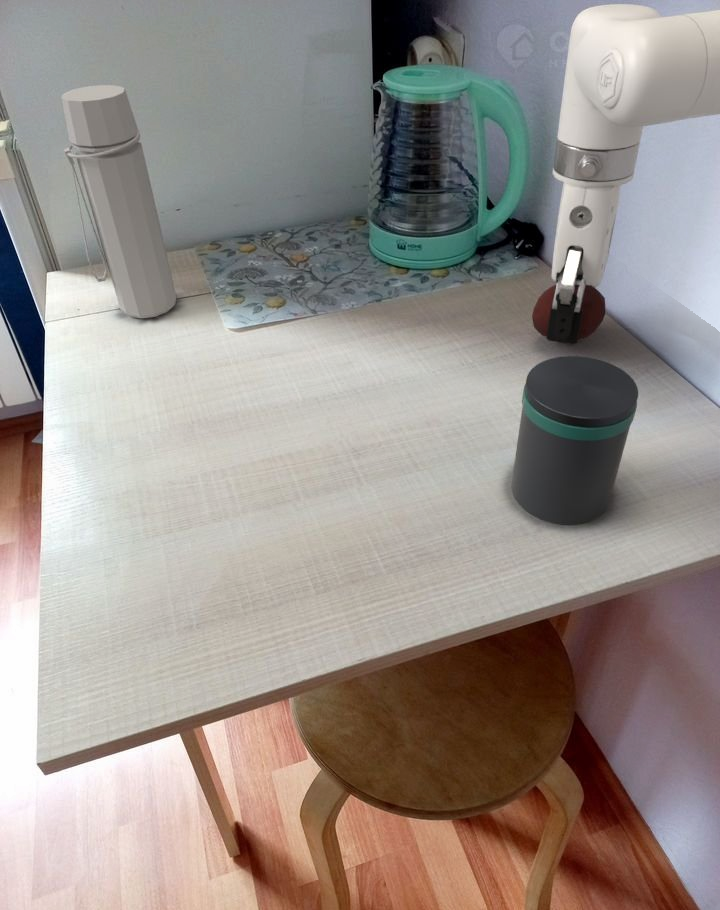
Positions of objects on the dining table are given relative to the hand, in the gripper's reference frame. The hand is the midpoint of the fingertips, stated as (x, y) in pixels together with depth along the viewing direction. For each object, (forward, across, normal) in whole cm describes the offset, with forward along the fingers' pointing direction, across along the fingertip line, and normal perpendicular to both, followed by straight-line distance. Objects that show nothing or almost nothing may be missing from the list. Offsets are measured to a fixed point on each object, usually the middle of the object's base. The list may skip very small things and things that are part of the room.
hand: (568, 321), depth 78 cm
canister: (+3, -24, -4) cm, 25 cm away
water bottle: (+2, -8, +51) cm, 52 cm away
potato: (+2, 0, 0) cm, 2 cm away
